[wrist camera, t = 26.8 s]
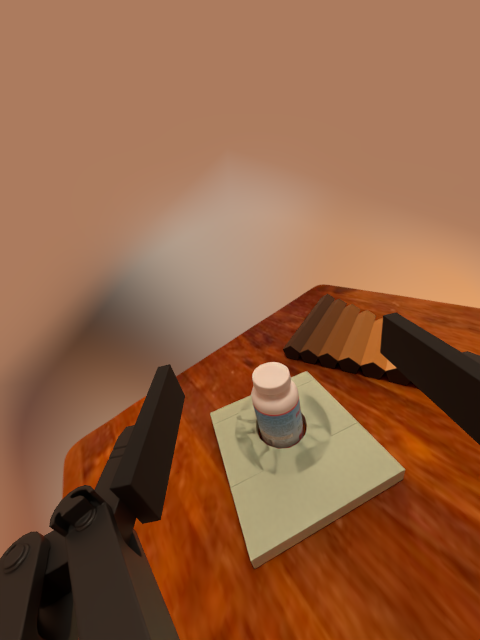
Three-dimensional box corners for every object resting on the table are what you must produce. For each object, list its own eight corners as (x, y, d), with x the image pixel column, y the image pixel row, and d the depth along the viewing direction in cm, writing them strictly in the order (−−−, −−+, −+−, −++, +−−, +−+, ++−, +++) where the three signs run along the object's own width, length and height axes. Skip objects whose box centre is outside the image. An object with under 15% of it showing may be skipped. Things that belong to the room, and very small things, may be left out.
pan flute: (321, 304, 63) (284, 357, 47) (321, 293, 62) (282, 344, 45) (437, 312, 49) (442, 394, 32) (440, 298, 47) (447, 376, 31)
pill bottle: (312, 443, 30) (305, 382, 25) (269, 459, 29) (254, 400, 24) (292, 409, 35) (283, 352, 30) (256, 422, 35) (241, 367, 29)
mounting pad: (403, 479, 24) (405, 469, 24) (254, 569, 21) (250, 561, 20) (307, 379, 40) (306, 370, 39) (213, 421, 37) (209, 412, 36)
